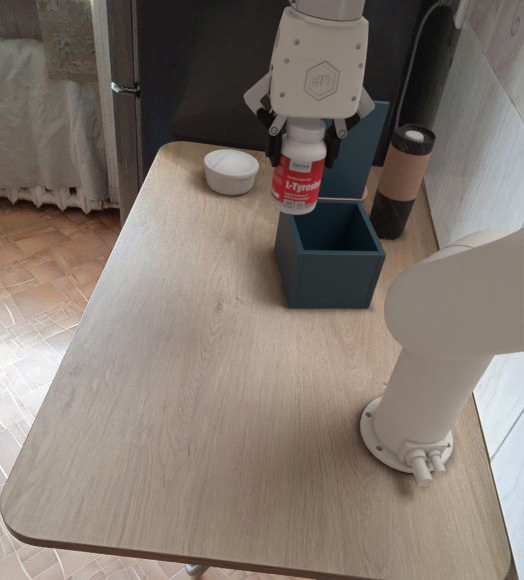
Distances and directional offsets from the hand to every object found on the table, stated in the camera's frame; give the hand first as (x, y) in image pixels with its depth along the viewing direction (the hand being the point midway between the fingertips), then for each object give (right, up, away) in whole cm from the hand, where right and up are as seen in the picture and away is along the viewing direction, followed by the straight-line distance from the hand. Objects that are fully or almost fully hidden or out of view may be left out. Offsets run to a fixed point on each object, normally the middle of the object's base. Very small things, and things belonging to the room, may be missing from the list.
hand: (300, 161), depth 71 cm
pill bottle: (-1, -4, +4) cm, 6 cm away
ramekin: (-12, +11, +48) cm, 51 cm away
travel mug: (+20, +1, +43) cm, 47 cm away
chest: (+5, -11, +29) cm, 31 cm away
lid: (+7, +8, +20) cm, 23 cm away
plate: (+10, +10, +51) cm, 53 cm away
